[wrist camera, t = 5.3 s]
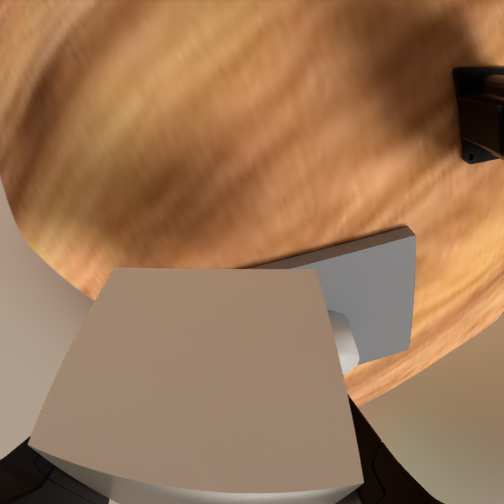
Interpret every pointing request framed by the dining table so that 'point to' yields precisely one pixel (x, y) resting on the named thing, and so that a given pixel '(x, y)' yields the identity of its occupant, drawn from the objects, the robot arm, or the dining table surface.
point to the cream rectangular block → (204, 392)
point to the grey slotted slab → (365, 293)
